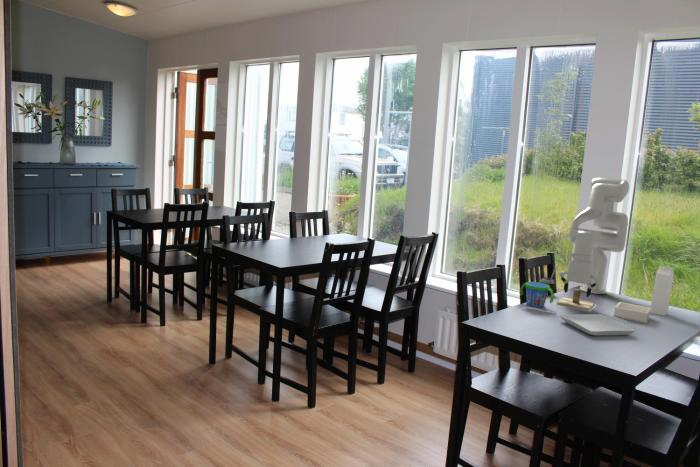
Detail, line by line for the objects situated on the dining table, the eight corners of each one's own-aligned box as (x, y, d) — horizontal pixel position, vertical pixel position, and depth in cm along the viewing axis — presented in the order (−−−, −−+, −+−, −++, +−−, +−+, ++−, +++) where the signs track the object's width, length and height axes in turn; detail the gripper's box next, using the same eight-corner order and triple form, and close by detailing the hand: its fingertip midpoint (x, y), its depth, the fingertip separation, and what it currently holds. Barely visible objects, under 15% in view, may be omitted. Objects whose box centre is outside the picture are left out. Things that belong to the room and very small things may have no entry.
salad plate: (590, 339, 225) (591, 330, 224) (557, 321, 245) (558, 313, 245) (636, 338, 231) (637, 329, 230) (600, 321, 251) (601, 313, 250)
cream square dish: (618, 311, 270) (619, 301, 269) (649, 317, 263) (651, 307, 262) (613, 317, 259) (614, 307, 258) (646, 323, 252) (647, 313, 251)
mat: (561, 299, 284) (561, 297, 284) (596, 306, 276) (596, 305, 276) (553, 305, 271) (553, 304, 271) (590, 312, 262) (590, 311, 262)
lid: (563, 298, 283) (565, 284, 282) (594, 304, 275) (596, 290, 274) (556, 304, 271) (558, 289, 270) (588, 310, 264) (590, 295, 263)
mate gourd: (537, 295, 289) (541, 265, 287) (539, 291, 296) (543, 262, 294) (553, 297, 286) (557, 267, 284) (555, 294, 293) (559, 265, 291)
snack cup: (513, 303, 269) (516, 281, 267) (526, 300, 276) (529, 279, 274) (543, 312, 257) (546, 289, 256) (556, 309, 264) (559, 287, 262)
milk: (663, 316, 268) (671, 268, 264) (649, 312, 272) (657, 266, 268) (667, 314, 272) (675, 267, 269) (653, 310, 276) (661, 264, 273)
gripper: (560, 255, 271) (555, 291, 273) (600, 262, 262) (594, 299, 264) (564, 254, 277) (559, 289, 280) (603, 260, 268) (598, 296, 271)
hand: (576, 294), depth 272 cm, fingers open, 9 cm apart
